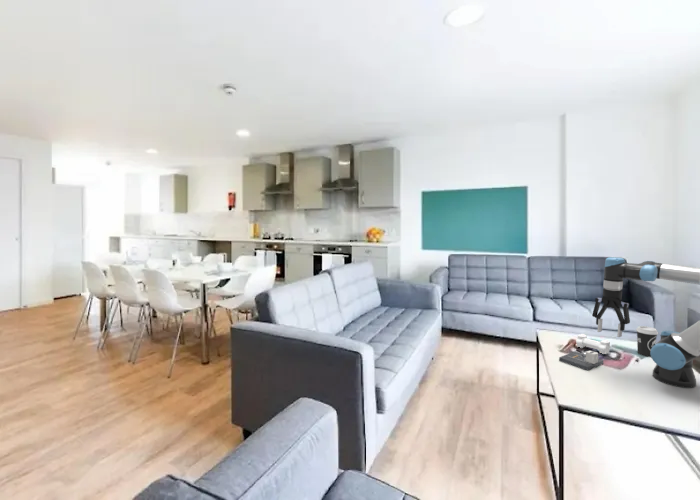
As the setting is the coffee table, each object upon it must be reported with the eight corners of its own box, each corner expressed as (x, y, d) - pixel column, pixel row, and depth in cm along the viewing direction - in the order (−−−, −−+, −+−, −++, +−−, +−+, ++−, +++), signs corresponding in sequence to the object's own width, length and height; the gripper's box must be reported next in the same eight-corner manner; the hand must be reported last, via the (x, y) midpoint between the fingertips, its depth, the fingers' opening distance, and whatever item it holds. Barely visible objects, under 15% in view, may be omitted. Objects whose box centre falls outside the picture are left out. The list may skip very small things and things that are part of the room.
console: (603, 363, 183) (603, 357, 183) (587, 370, 175) (588, 364, 175) (574, 354, 195) (575, 348, 195) (559, 360, 187) (559, 354, 187)
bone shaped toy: (610, 354, 197) (611, 340, 197) (604, 356, 192) (605, 341, 192) (580, 346, 210) (582, 332, 209) (574, 347, 205) (575, 334, 204)
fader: (597, 362, 180) (598, 352, 180) (593, 364, 178) (594, 353, 178) (589, 359, 184) (589, 349, 183) (585, 361, 182) (586, 351, 181)
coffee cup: (647, 351, 200) (650, 325, 198) (660, 357, 190) (663, 331, 189) (630, 350, 201) (632, 325, 199) (642, 357, 191) (644, 330, 190)
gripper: (641, 292, 164) (638, 338, 166) (593, 284, 181) (590, 326, 184) (634, 294, 160) (631, 342, 162) (585, 286, 178) (582, 329, 180)
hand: (609, 333), depth 173 cm, fingers open, 8 cm apart
